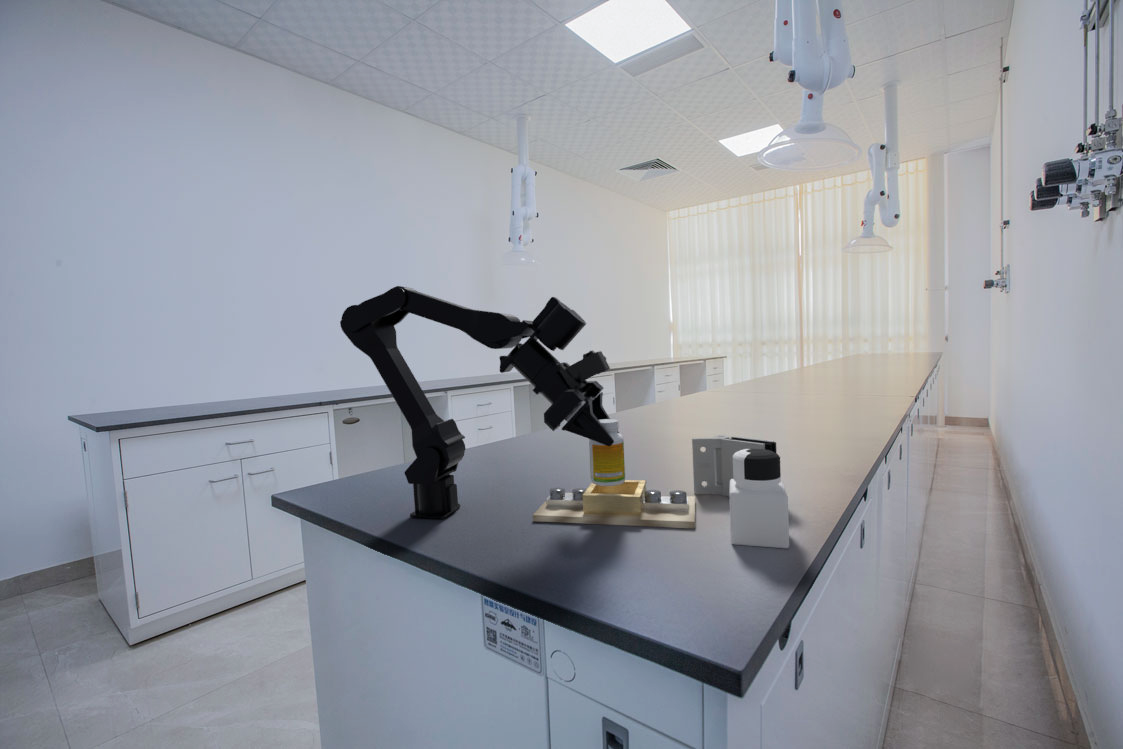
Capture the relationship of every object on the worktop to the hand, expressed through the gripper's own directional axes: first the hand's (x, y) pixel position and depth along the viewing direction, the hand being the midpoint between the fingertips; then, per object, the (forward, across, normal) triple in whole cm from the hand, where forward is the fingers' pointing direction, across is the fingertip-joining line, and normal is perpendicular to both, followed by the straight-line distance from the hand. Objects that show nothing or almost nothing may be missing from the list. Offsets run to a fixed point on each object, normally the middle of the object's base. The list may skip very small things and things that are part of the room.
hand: (615, 440), depth 78 cm
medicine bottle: (+23, -5, -5) cm, 24 cm away
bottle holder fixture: (+8, +4, +9) cm, 13 cm away
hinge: (+22, +13, -4) cm, 26 cm away
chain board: (+8, +4, +9) cm, 13 cm away
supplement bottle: (+4, 0, +6) cm, 7 cm away
